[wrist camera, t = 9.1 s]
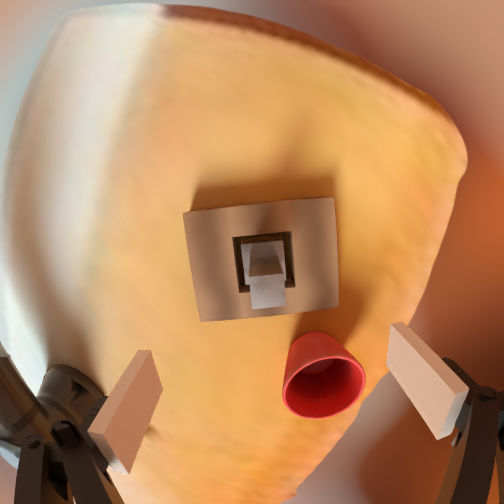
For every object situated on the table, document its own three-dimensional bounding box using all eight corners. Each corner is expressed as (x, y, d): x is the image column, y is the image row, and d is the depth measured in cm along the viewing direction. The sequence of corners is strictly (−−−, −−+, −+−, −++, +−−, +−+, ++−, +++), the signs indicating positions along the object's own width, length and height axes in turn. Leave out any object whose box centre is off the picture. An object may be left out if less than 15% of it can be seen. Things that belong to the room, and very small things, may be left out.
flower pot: (267, 336, 41) (270, 374, 32) (338, 311, 41) (359, 344, 31) (288, 387, 43) (294, 428, 34) (351, 365, 43) (370, 402, 33)
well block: (205, 309, 41) (200, 321, 37) (189, 210, 38) (182, 213, 34) (331, 296, 40) (338, 307, 36) (326, 196, 37) (334, 197, 33)
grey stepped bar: (246, 275, 39) (242, 320, 26) (242, 239, 38) (235, 267, 25) (283, 271, 39) (298, 314, 26) (280, 235, 38) (294, 260, 25)
